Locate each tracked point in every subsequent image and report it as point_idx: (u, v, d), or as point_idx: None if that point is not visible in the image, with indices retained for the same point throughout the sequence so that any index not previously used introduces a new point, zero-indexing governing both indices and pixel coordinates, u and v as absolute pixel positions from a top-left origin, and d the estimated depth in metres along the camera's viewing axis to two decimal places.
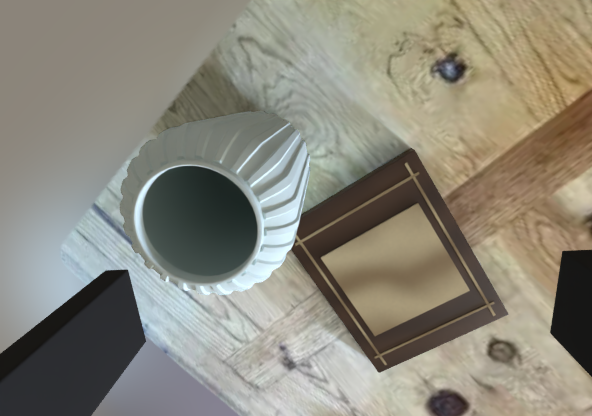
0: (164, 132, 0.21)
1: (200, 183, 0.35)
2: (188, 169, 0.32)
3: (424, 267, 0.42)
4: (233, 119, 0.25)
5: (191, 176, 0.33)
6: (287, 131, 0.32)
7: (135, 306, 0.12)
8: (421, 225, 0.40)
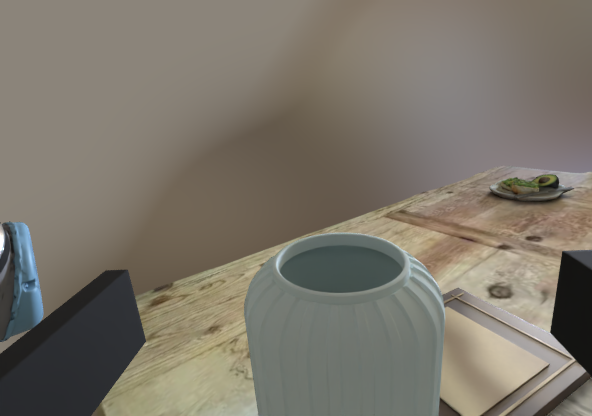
0: (247, 311, 0.19)
1: None
2: None
3: None
4: None
5: None
6: None
7: (135, 306, 0.12)
8: None
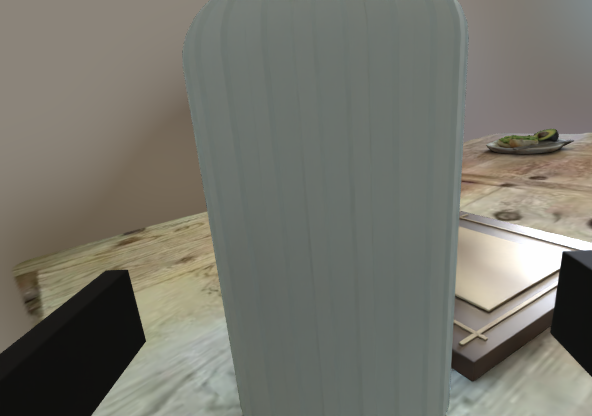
0: (184, 45, 0.13)
1: None
2: None
3: None
4: None
5: None
6: None
7: (135, 306, 0.12)
8: None
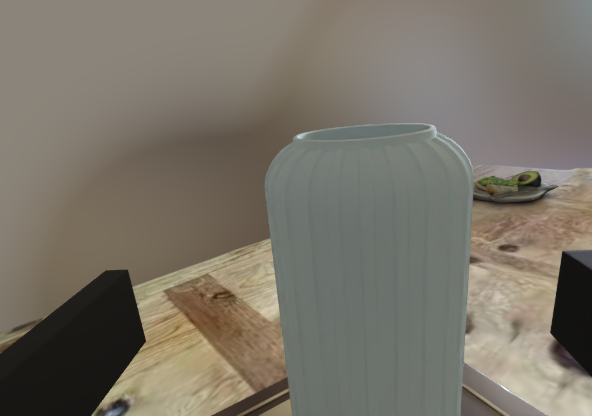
0: (269, 180, 0.19)
1: None
2: None
3: None
4: None
5: None
6: None
7: (135, 306, 0.12)
8: (289, 409, 0.29)
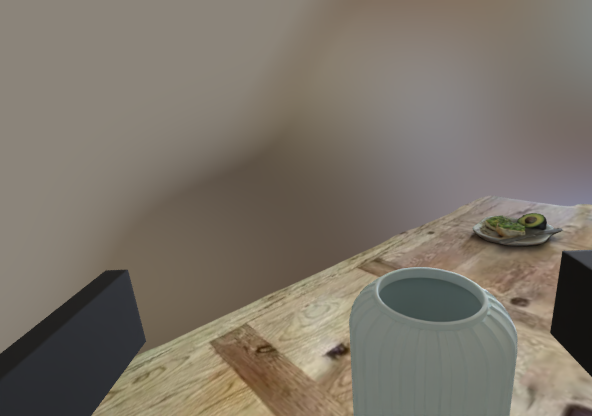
0: (360, 336, 0.24)
1: None
2: None
3: None
4: None
5: None
6: None
7: (135, 306, 0.12)
8: None
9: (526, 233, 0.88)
